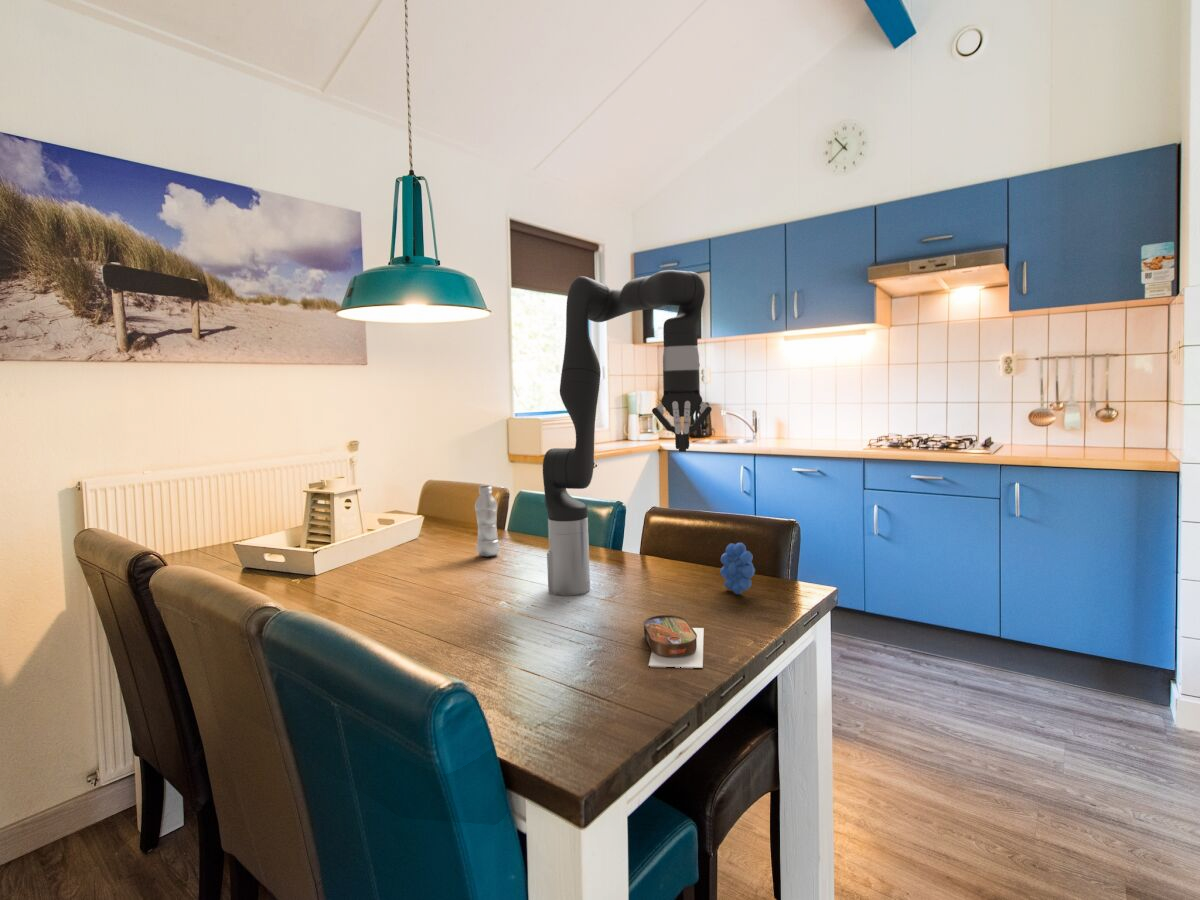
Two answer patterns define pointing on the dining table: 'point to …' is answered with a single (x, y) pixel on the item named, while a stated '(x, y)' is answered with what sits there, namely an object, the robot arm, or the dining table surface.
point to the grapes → (737, 568)
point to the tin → (670, 635)
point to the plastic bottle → (487, 523)
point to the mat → (682, 661)
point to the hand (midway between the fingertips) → (682, 451)
